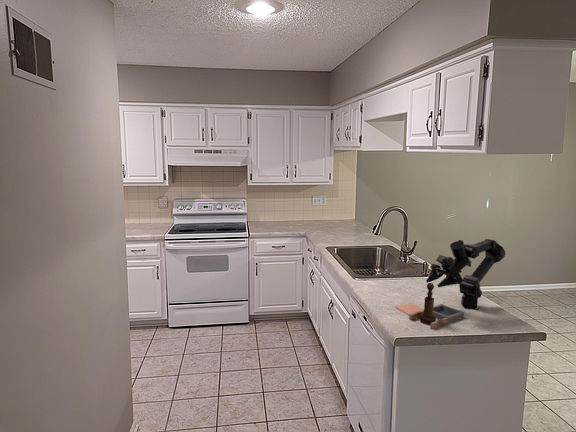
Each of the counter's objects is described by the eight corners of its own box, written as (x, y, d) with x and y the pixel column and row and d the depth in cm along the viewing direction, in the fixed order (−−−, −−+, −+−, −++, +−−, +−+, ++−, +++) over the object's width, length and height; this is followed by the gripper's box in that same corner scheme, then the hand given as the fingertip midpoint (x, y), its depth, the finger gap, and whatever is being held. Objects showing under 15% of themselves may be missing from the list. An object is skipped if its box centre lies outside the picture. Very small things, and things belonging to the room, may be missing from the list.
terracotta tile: (412, 304, 207) (412, 303, 207) (428, 312, 197) (428, 311, 197) (394, 307, 203) (394, 306, 203) (409, 315, 193) (409, 314, 193)
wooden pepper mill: (432, 318, 190) (435, 281, 187) (437, 324, 184) (441, 285, 181) (417, 318, 190) (420, 281, 187) (422, 324, 183) (425, 285, 180)
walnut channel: (424, 314, 195) (424, 309, 195) (447, 323, 185) (448, 318, 185) (409, 319, 189) (409, 314, 188) (432, 329, 179) (433, 323, 178)
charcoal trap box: (441, 308, 202) (441, 303, 202) (463, 317, 192) (464, 312, 192) (425, 314, 195) (425, 309, 195) (448, 323, 186) (448, 317, 185)
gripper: (437, 247, 202) (413, 266, 200) (462, 253, 184) (435, 274, 182) (448, 266, 205) (424, 284, 202) (473, 273, 186) (447, 294, 184)
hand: (432, 284), depth 192 cm, fingers open, 9 cm apart
